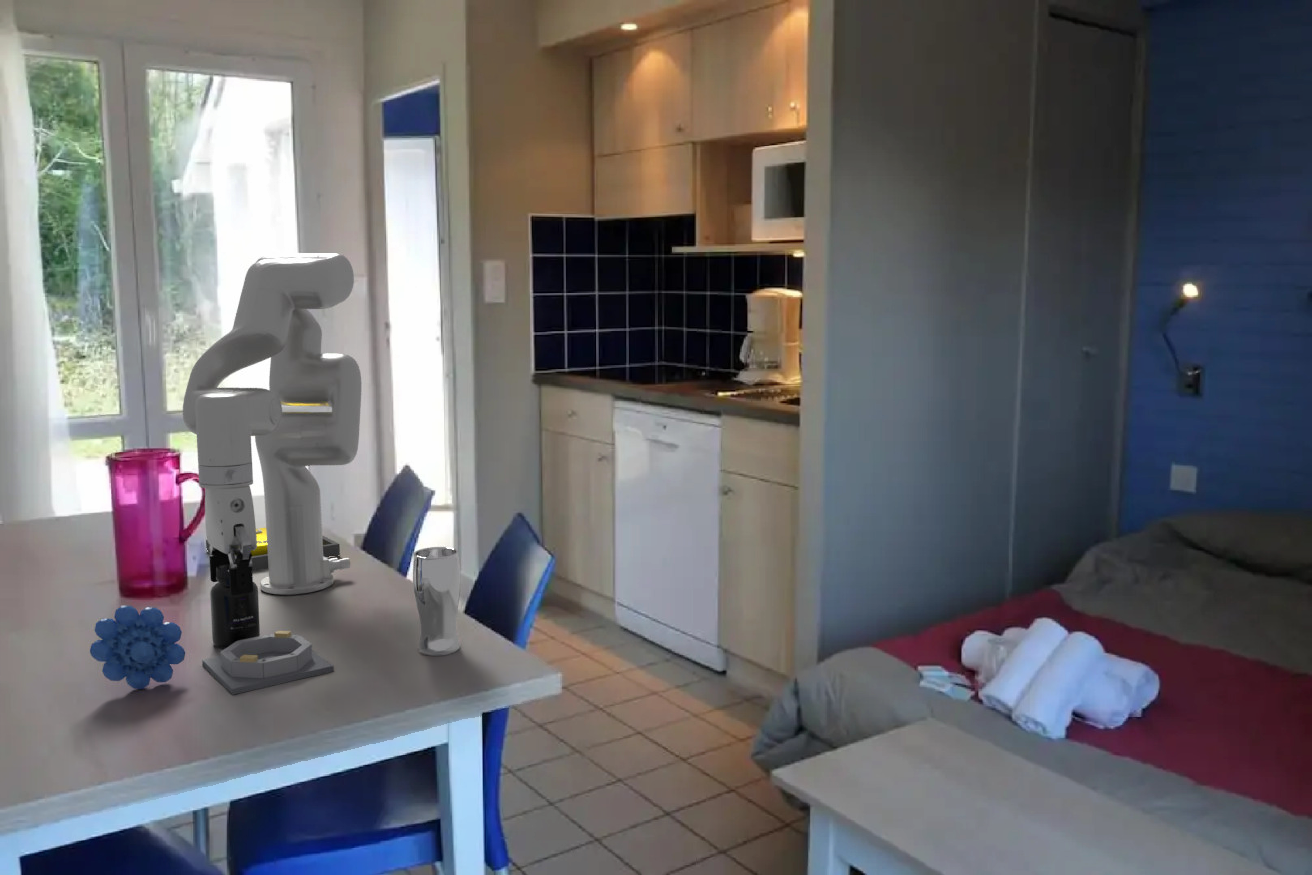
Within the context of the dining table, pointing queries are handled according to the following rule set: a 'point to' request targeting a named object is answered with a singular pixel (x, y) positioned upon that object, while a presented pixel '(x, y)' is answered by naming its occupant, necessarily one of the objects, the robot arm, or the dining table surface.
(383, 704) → the dining table surface
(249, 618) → the supplement bottle
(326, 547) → the shallow dark tray
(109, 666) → the blue petal flower
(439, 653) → the beer glass
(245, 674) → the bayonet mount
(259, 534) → the element tile
